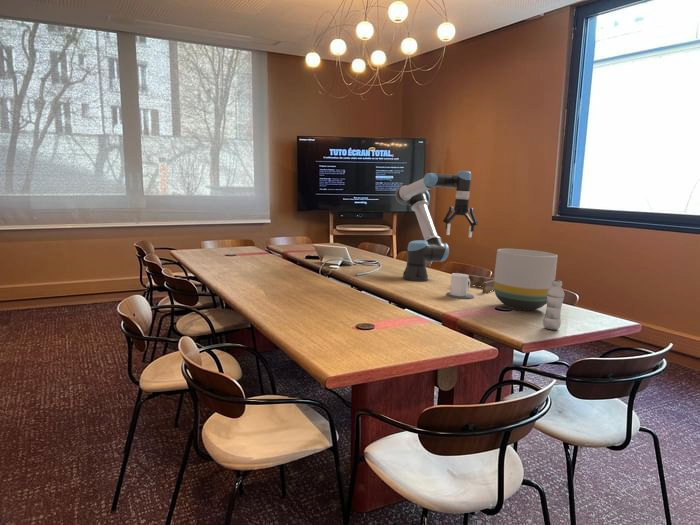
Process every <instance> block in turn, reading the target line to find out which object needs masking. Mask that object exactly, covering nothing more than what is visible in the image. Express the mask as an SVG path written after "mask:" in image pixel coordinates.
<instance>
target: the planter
mask: <svg viewBox="0 0 700 525" xmlns="http://www.w3.org/2000/svg"><path fill="white" fill-rule="evenodd" d="M495 257H496V258H495V266H494V267H495V268H494V275H493V276H494V277H493V279H494V291H493V292H494V294H495V296H496V297H497V299H498V301H500V302H501V303H502V304H503V305H505V307H508V308H510V309H514V310H518V311H535V310H538V309H541V308H542V307H544V306H546V305H547V292H548V290H549V289H550V288H551V287H552V285H551V284H552V280H556V274H557V266H558V254H555V253H552V252H548V251H547V252H546V251H540V250H533V249H532V250H531V249H521V248H520V249H519V248H498V249H497V251H496V256H495Z"/></svg>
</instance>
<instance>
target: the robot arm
mask: <svg viewBox="0 0 700 525" xmlns="http://www.w3.org/2000/svg"><path fill="white" fill-rule="evenodd" d="M471 181H472V173H471V171H470V170H469V171H468V170H459V171H458V172H457V174H447V173H438V172H437V173H436V172H435V173H434V172H427V173H426V174H424V176H423V178H421V179H418V180H417V181H414V182H412V183H410V184H407V185H402V186H400V187H398V189H396V191H395V194H394V195H395V200H396V201H397V203H399V204H401V205H403V206H410V209H411V211H413V212H414V214H415V216H416V219H417V221H418V225H419V227H420V230H421V234H422V237H423V240H421V239H420V240H419V239H418V240H417V239H416V240H412V241H410V242H408V245H407V252H406V253H407V256H406V257H407V258H406V267H405V269H404V271H403V274H402V279H404V280H407V281H414V282H425V281H426V282H427V281H428V280H429V279H428V278H429V275H428V272H427V262H428V263H431V262H433V263H436V262H437V263H439V262H445V261H446V260H447V258H448V257H449V254H450V247H449V245H448V243H447V242H443V240H442V237H440V236H439V235H438V233H437V230H436V229H437V228H436V227H435V224H434V222H433V218H432V214H430V213H431V212H430V209H429V204H430V202H431V199H430V198H431V195H430V192H429V190H432V189H434V188H436V187H437V188H447V189H455V200H454V206H449V208H448V211H447V213H446V215H445V216H444V218H443V220H442V222H443V223H445V230H446V235H447V236H450V234H451V222H452V221H453V220H454V219H455V218H456V216H464V217H465V218H466V220H467V221H468V223H469V227H468V238H472V235H473V232H474V230H475V226H477V225H479V222H478V220H477V217H476V215H475V213H474V212H475V210H474V208H473V207H469V204H470V200H469V199H470V194H471V193H470V191H471V184H472V183H471ZM468 212H469V213H468ZM470 216H471V217H470Z"/></svg>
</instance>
